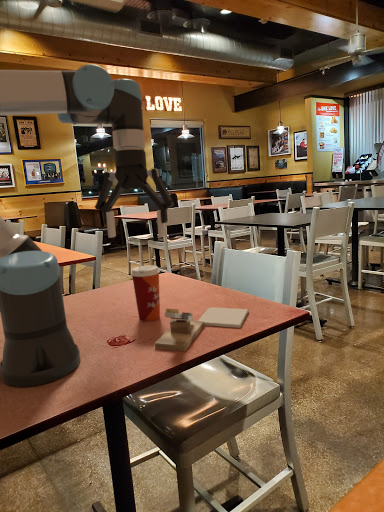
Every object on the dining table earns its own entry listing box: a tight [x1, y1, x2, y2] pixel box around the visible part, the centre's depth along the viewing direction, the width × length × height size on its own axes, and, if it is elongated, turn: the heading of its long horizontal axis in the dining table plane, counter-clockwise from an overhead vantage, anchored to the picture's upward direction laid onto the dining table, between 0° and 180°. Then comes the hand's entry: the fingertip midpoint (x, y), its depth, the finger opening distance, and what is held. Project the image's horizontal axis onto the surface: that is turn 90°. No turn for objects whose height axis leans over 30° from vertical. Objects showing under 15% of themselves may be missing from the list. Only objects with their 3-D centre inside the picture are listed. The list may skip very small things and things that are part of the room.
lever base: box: [154, 319, 205, 352], centre depth 85 cm, size 14×7×4 cm, turn 161°
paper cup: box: [130, 264, 161, 323], centre depth 98 cm, size 8×8×14 cm
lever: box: [164, 308, 194, 321], centre depth 85 cm, size 12×4×2 cm, turn 161°
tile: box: [197, 306, 249, 329], centre depth 95 cm, size 11×11×1 cm
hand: (136, 236), depth 92 cm, fingers open, 13 cm apart
